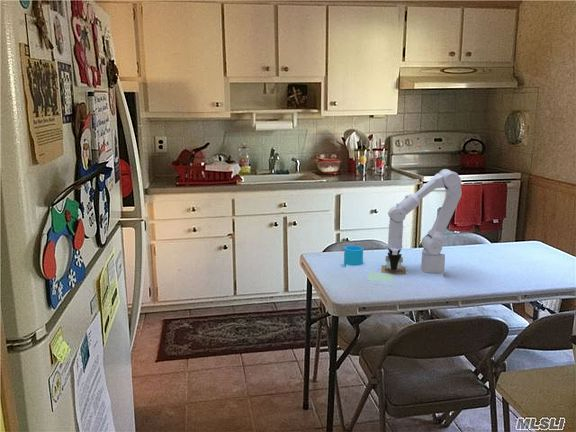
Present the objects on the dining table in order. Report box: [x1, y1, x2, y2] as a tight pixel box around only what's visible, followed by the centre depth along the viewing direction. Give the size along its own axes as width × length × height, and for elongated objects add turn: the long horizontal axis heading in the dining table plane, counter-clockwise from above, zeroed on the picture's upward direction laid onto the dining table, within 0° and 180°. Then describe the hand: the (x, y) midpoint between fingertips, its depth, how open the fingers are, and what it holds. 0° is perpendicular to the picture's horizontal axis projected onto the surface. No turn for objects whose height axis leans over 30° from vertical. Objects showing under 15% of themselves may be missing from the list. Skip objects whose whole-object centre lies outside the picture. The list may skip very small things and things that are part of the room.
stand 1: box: [367, 272, 395, 287], centre depth 208 cm, size 10×10×2 cm
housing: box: [384, 255, 404, 272], centre depth 217 cm, size 7×4×5 cm, turn 79°
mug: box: [343, 245, 364, 268], centre depth 228 cm, size 12×8×8 cm
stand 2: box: [380, 265, 407, 275], centre depth 217 cm, size 10×10×2 cm
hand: (393, 266), depth 217 cm, fingers open, 7 cm apart
